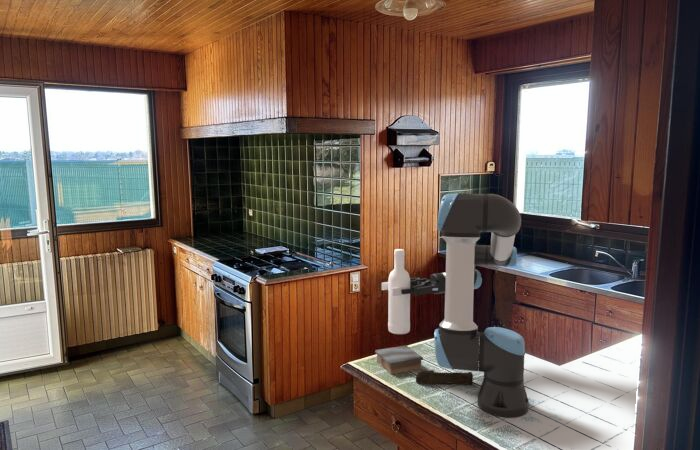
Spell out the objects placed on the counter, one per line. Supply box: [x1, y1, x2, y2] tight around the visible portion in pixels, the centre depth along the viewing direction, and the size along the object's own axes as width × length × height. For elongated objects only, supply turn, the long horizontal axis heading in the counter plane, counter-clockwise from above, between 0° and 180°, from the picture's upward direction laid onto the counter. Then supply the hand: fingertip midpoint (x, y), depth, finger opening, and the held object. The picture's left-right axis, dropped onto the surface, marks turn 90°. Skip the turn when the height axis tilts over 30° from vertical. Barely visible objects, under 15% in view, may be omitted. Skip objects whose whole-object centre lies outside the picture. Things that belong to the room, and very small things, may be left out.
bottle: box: [387, 248, 411, 335], centre depth 182 cm, size 8×8×30 cm
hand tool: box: [415, 369, 474, 386], centre depth 171 cm, size 19×4×5 cm, turn 86°
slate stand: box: [374, 345, 424, 375], centre depth 185 cm, size 13×13×4 cm
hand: (387, 289), depth 180 cm, fingers closed on bottle, 8 cm apart
